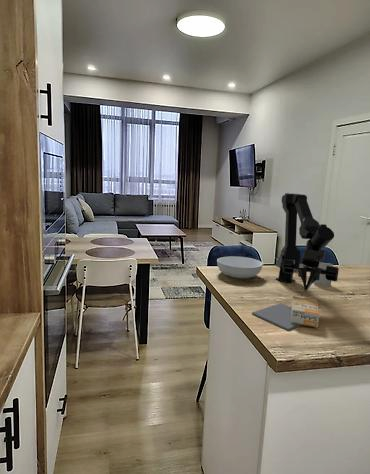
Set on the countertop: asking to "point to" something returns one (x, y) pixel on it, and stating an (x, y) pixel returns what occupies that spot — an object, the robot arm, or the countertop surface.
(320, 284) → the grey angular block
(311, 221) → the robot arm
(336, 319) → the countertop surface
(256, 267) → the serving bowl
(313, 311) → the supplement box
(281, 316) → the mat
